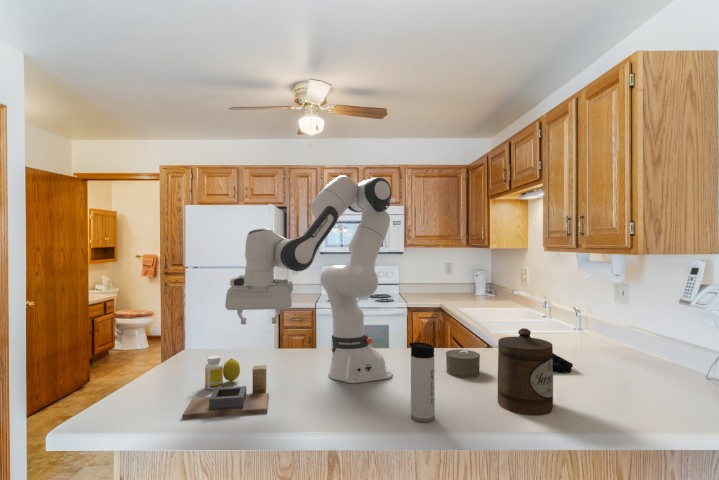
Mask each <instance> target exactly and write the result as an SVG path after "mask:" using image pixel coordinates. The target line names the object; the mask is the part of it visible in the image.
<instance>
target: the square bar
mask: <svg viewBox="0 0 719 480" xmlns="http://www.w3.org/2000/svg"><path fill="white" fill-rule="evenodd" d="M260 393H267V364H263V365H260V364H259V365H253V368H252V394H260Z"/></svg>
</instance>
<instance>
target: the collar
mask: <svg viewBox="0 0 719 480" xmlns="http://www.w3.org/2000/svg"><path fill="white" fill-rule="evenodd" d="M246 394H247V385H246V386H245V385H243V386H229V387H228V386H227V387H221V388H215V389H214V390H212V392H211V396H209V397H210V399H209V410H223V409H237V408H243V407H244V403H245V400H246Z"/></svg>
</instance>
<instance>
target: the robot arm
mask: <svg viewBox="0 0 719 480" xmlns="http://www.w3.org/2000/svg"><path fill="white" fill-rule="evenodd" d="M392 192H393V191H392V186H391V184H390V183H389V181H388V180H387V179H385V178H383V177H371V178H369V179H366V180H365V179H364V180H363V181H361V182H358V183H356V182H355V181H354V179H352V178H351V177H350V176H347V175H339V176H337V177H336V178H334V179H333V180H331V181H330V182H329V183H327V184H326V185H325V187H323V188H322V189H321V190H320V192H318V194H317V195H316V196H315V198H314V199H313V201H312V202H311V205H310V207H311V212H312V214H313V216H314V220H313V221H312V222H311V224H310V225H309V227H307V229H306V230H305V232H304V233H303V234H301V235H300V236H298V237H296V238H286V237H284V236H282V235H280V234H278V233H277V232H275V231H273V230H272V228H269V227H265V228H257V229H253V230H250V231H249V232H248V233H247V236H246V240H245V250H244V257H245V261H246V264H245V267H244V275H239V276H236V277H232V278H231V279H230V280H229V285H230V287H229V288H228V289H227V291H226V296H225V303H224V304H225V306H224V307H225V309H226V310H227V311H236V312H237V313H236V314H237V315H238V318H239V319H240V325H246V324H247V317H244V316H243V312H244V310H245V311H251V310H255V311H256V310H257V311H258V310H260V311H261V310H275V313H276V314H275V316H273V317H271V324H277V322H278V317H279V316H280V314H281V310H289V309H291V308H292V301H293V300H292V292H293V290H294V285H293V282H292V281H291V280H288V279H287V278H286V279H279V278H278V279H275V275H274V273H275V268H280V269H285V270H291V271H294V272H304V271H305V270H307V269H309V268H310V267H311V265H312V264H313V262H314V260H315V257H316V254H317V251H318V249H319V248H320V247H321V245H322V244H323V242H324V241H325V240H326V238H327V237H328V235H329V234H330V232H331V231H332V229H333V228H335V225H336V224H337V222H338V220H339V219H340V218H341V216H342V215H343V214H344V213H345V212H346V210H347V209H348V210H349V211H350V212H354V213H361V218H360V222H359V224H358V225H357V228H356V229H355V231H354V234H353V235H352V238H351V240H350V242H349V243H348V252H349V253H350V256H349V261H348V263H347V264H333V265H330V266H327V267H326V268H324V269H323V271H322V272H321V276H320V284H321V286H322V288H323V289H324V291H325V293H326V294H327V297H328V301H329V304H330V308H331V313H332V335H331V338H330V339H331V340H330V341H331V343H330V344H331V345H330V346H331V361H330V367H329V371H328V373H327V375H328V377H329V378H331V379H333V380H335V381H341V382H345V383H347V384H359V383H366V382H367V383H368V382H373V381H379V380H380V381H381V380H387V379H388V380H389V379H391V378H392V376H393V372H392V370H391V369H390V367H388V366H386V361H385V358H384V356H383V355H382V353H381V352H379V351H378V350H376V348H374V347H373V346H371V344H372V343H373V342H374V340H373V338H372V337H370V336H368V335H367V334H365V315H364V311H363V309H362V308H361V307H360V305H359V304H358V301H357V299H360V298H367V297H368V298H369V297H371V296H372V295H374V294H375V293H376V291H377V289H378V286H379V278H378V275H377V273H376V270H375V267H376V266H375V265H376V259H377V257H378V254H379V252H380V250H381V247H382V245H383V244H384V240H385V238H386V236H387V235H388V230H389V227H390V222H391V215H390V214H389V213H388V212H387V209H389V207H390V203H391V202H390V201H391V199H392Z"/></svg>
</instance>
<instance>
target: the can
mask: <svg viewBox="0 0 719 480" xmlns="http://www.w3.org/2000/svg"><path fill="white" fill-rule="evenodd" d="M480 357H481V355H480V353H479V352H476V351H473V350H469V349H452V350H448V351H446V352H445V359H446V362H445V365H446V366H445V367H446V370H445V372H446V373H447V374H448V375H449V376H451V377H454V378H455V377H456V378H461V379H462V378H463V379H471V378H472V379H473V378H477V377H478V376H480V371H481V370H480V367H481V366H480V361H481V360H480Z"/></svg>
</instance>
